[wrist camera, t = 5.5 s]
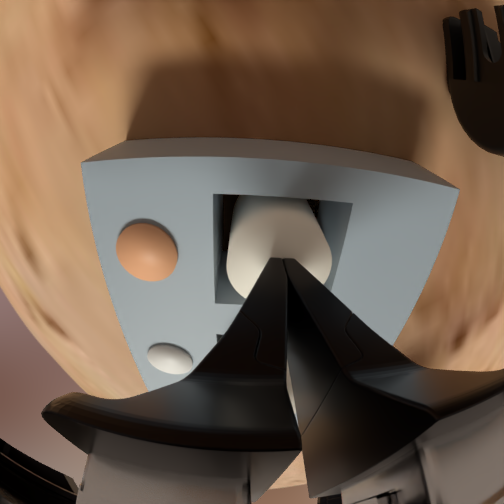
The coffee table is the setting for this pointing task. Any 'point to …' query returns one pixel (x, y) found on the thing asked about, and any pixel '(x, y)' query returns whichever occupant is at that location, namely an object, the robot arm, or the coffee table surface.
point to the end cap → (477, 76)
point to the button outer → (274, 239)
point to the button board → (215, 259)
